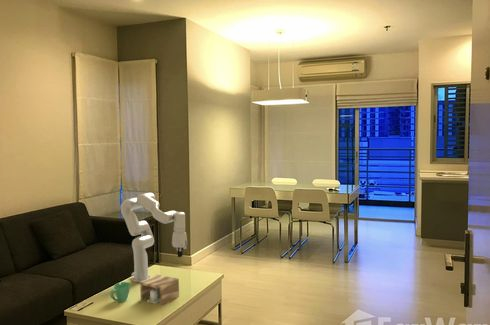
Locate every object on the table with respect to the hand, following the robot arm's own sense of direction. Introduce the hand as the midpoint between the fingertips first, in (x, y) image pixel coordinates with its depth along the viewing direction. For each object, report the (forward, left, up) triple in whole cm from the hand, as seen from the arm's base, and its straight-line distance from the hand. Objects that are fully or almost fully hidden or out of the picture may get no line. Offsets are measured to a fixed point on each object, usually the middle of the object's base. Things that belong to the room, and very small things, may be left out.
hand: (180, 256), depth 278 cm
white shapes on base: (0, -20, -21) cm, 29 cm away
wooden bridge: (0, -22, -21) cm, 30 cm away
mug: (-19, -38, -21) cm, 47 cm away
